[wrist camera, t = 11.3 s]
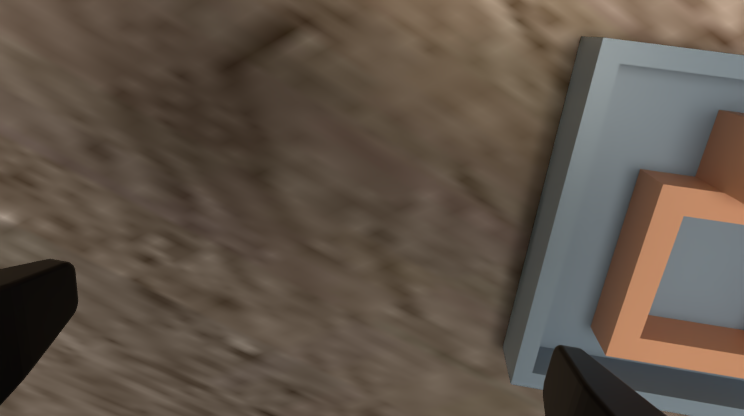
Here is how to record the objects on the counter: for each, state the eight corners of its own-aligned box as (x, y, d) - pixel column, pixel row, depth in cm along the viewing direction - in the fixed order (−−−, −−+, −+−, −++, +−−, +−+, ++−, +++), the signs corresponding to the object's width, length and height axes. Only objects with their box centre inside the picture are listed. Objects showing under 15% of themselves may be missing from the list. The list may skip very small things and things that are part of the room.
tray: (812, 400, 22) (858, 444, 19) (502, 347, 23) (510, 383, 20) (979, 87, 17) (1065, 96, 15) (581, 36, 18) (603, 37, 16)
